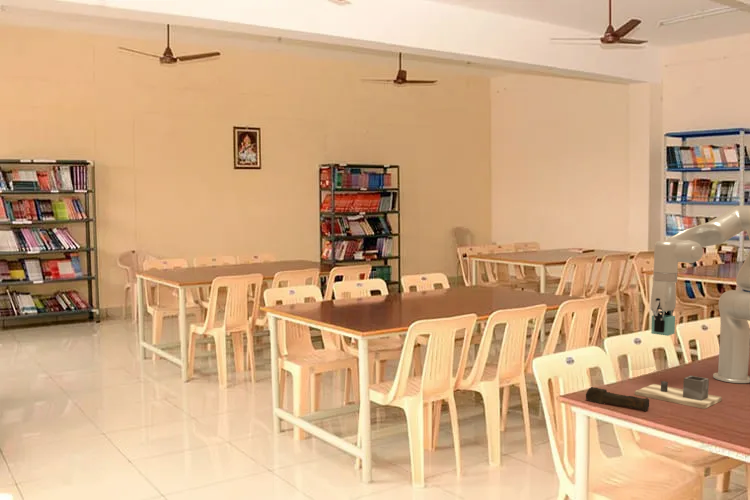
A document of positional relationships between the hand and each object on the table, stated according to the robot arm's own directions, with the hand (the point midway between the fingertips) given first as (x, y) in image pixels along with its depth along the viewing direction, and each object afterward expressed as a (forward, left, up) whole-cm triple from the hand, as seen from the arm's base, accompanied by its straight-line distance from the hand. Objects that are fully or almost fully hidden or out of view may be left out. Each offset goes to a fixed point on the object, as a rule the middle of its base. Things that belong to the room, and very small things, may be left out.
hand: (663, 330), depth 254 cm
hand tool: (+36, +2, -19) cm, 41 cm away
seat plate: (+12, +11, -19) cm, 25 cm away
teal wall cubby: (0, 0, -1) cm, 1 cm away
